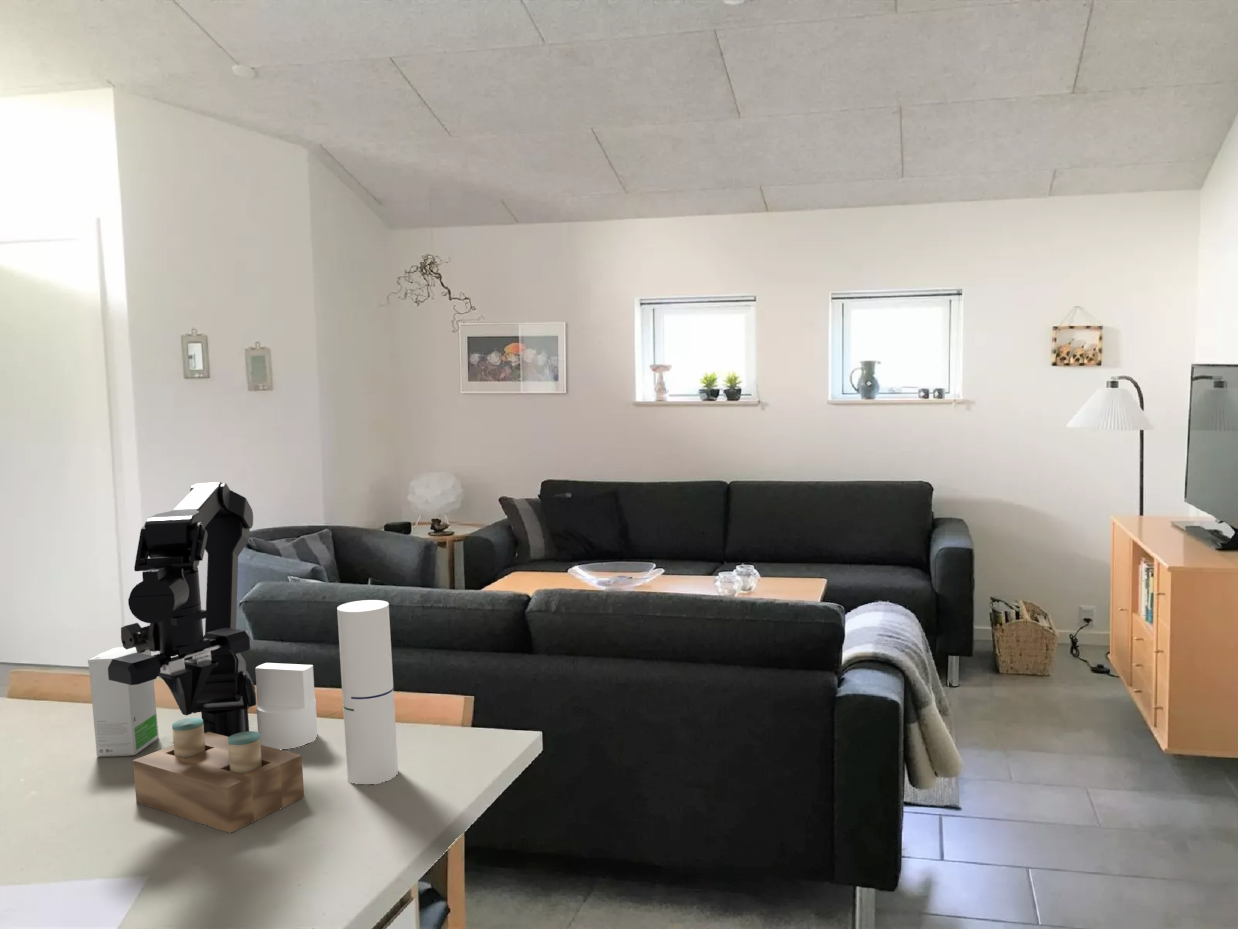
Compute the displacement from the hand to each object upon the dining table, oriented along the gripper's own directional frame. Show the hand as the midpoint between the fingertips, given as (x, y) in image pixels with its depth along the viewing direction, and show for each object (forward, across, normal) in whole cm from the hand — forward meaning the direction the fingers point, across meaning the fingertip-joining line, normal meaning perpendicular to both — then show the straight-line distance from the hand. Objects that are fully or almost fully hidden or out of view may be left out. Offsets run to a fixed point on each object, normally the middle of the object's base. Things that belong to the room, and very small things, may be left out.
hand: (187, 714), depth 139 cm
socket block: (+11, 0, +6) cm, 13 cm away
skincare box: (+12, -6, -25) cm, 28 cm away
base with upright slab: (+12, -20, -4) cm, 23 cm away
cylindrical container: (+11, -16, +19) cm, 27 cm away
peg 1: (+7, 0, 0) cm, 7 cm away
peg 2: (+7, 0, +12) cm, 14 cm away
